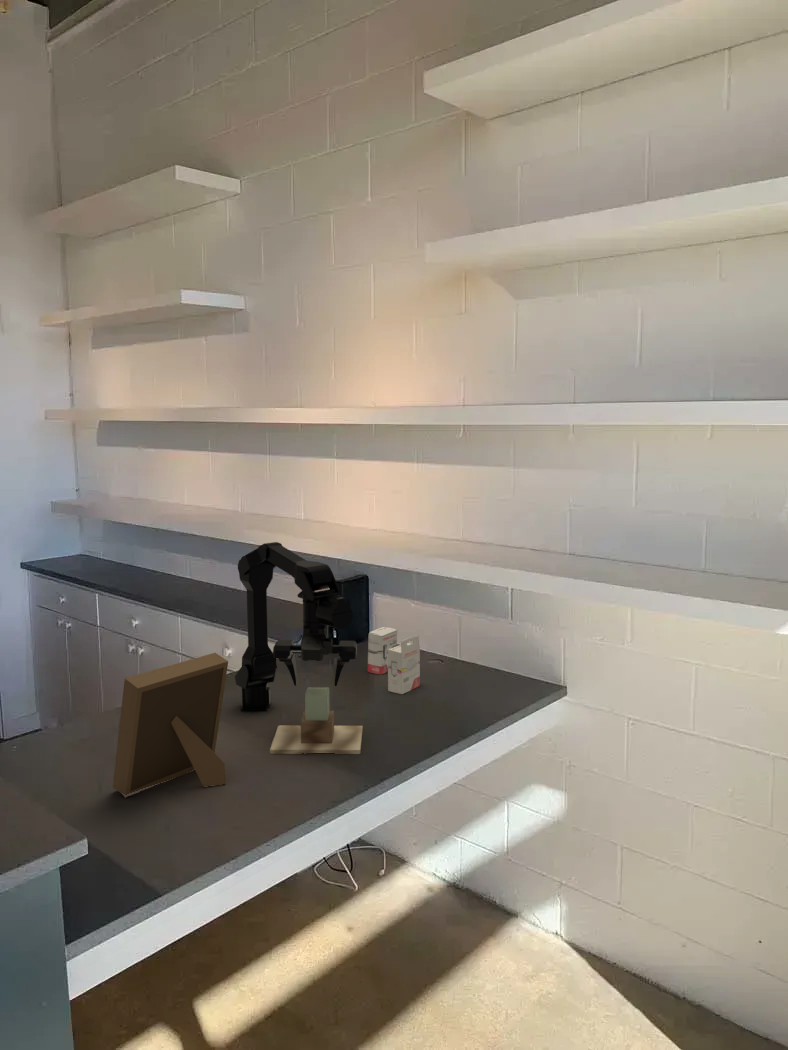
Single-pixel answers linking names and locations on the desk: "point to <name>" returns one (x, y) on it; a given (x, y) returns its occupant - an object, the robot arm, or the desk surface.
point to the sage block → (317, 704)
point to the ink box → (380, 649)
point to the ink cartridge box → (404, 666)
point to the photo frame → (171, 724)
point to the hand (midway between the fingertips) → (315, 685)
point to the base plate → (338, 747)
